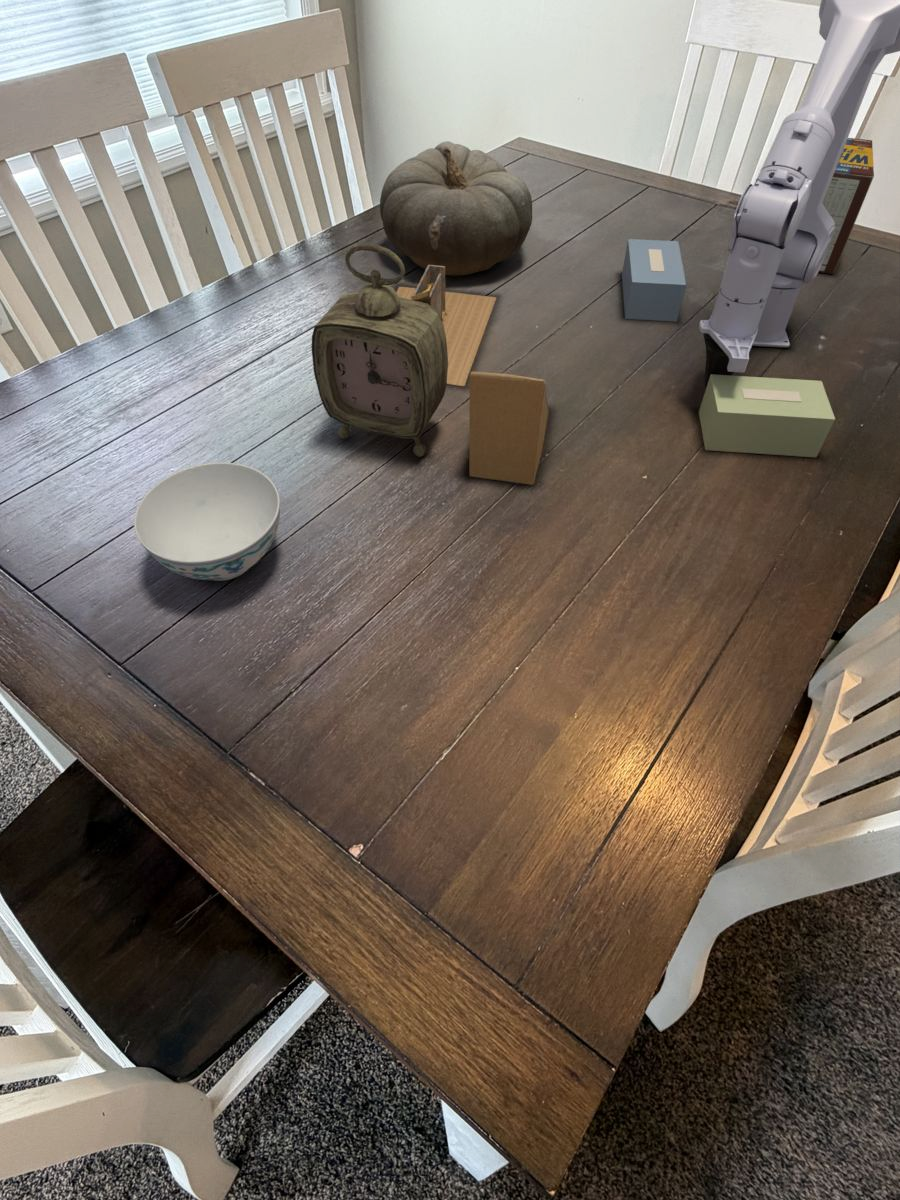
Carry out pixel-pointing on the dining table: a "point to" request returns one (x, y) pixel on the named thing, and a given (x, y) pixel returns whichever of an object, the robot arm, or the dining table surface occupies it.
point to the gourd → (455, 209)
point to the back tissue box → (653, 280)
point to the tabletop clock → (380, 358)
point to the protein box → (847, 196)
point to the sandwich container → (506, 426)
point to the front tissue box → (765, 415)
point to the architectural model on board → (432, 288)
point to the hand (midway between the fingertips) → (712, 388)
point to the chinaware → (209, 520)
